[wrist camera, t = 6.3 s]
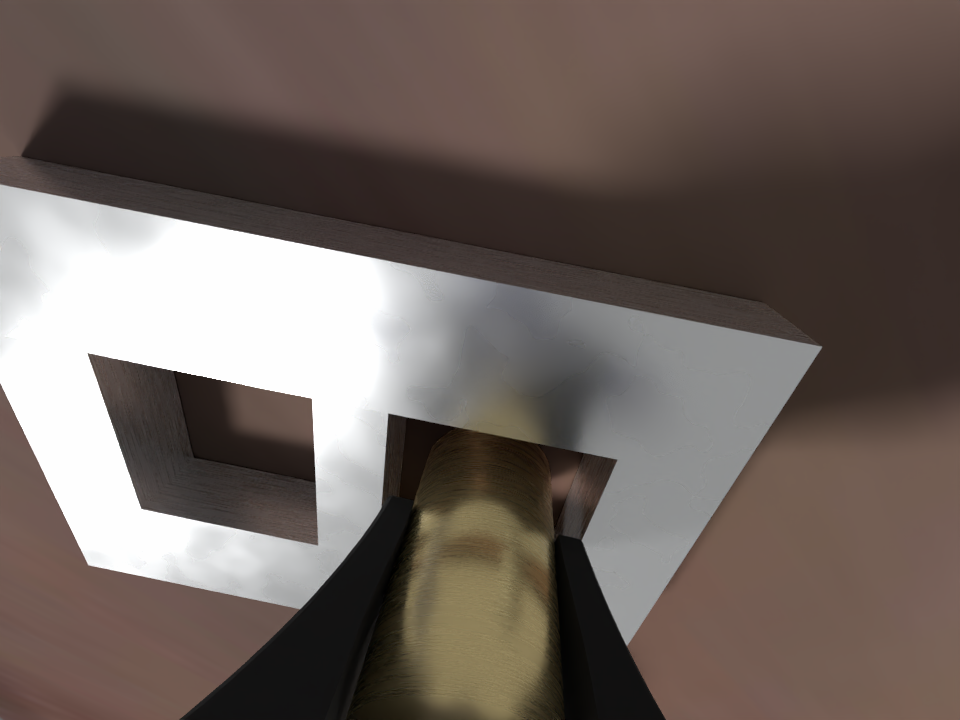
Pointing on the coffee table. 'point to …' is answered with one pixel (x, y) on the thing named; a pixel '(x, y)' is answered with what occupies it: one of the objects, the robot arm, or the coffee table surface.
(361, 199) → the coffee table surface
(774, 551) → the coffee table surface
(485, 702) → the brass sleeve
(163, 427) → the jig plate
